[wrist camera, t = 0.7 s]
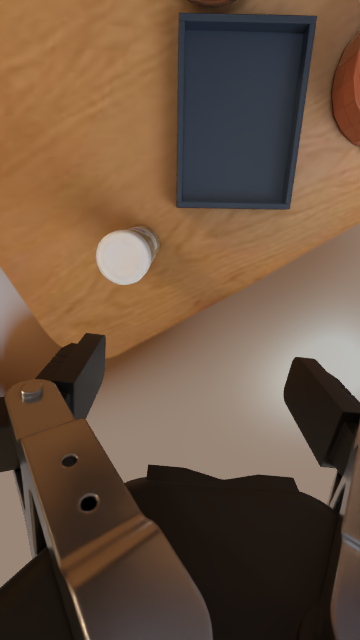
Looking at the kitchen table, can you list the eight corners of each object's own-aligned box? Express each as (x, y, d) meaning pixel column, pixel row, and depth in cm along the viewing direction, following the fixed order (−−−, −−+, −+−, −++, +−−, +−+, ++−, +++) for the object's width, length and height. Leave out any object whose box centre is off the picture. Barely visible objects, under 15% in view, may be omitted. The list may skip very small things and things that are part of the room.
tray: (178, 25, 29) (178, 12, 27) (308, 28, 29) (317, 15, 27) (176, 207, 35) (176, 207, 33) (284, 209, 35) (289, 209, 33)
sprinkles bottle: (159, 225, 36) (149, 231, 23) (159, 262, 37) (149, 286, 24) (123, 224, 35) (92, 229, 23) (124, 261, 37) (96, 285, 24)
